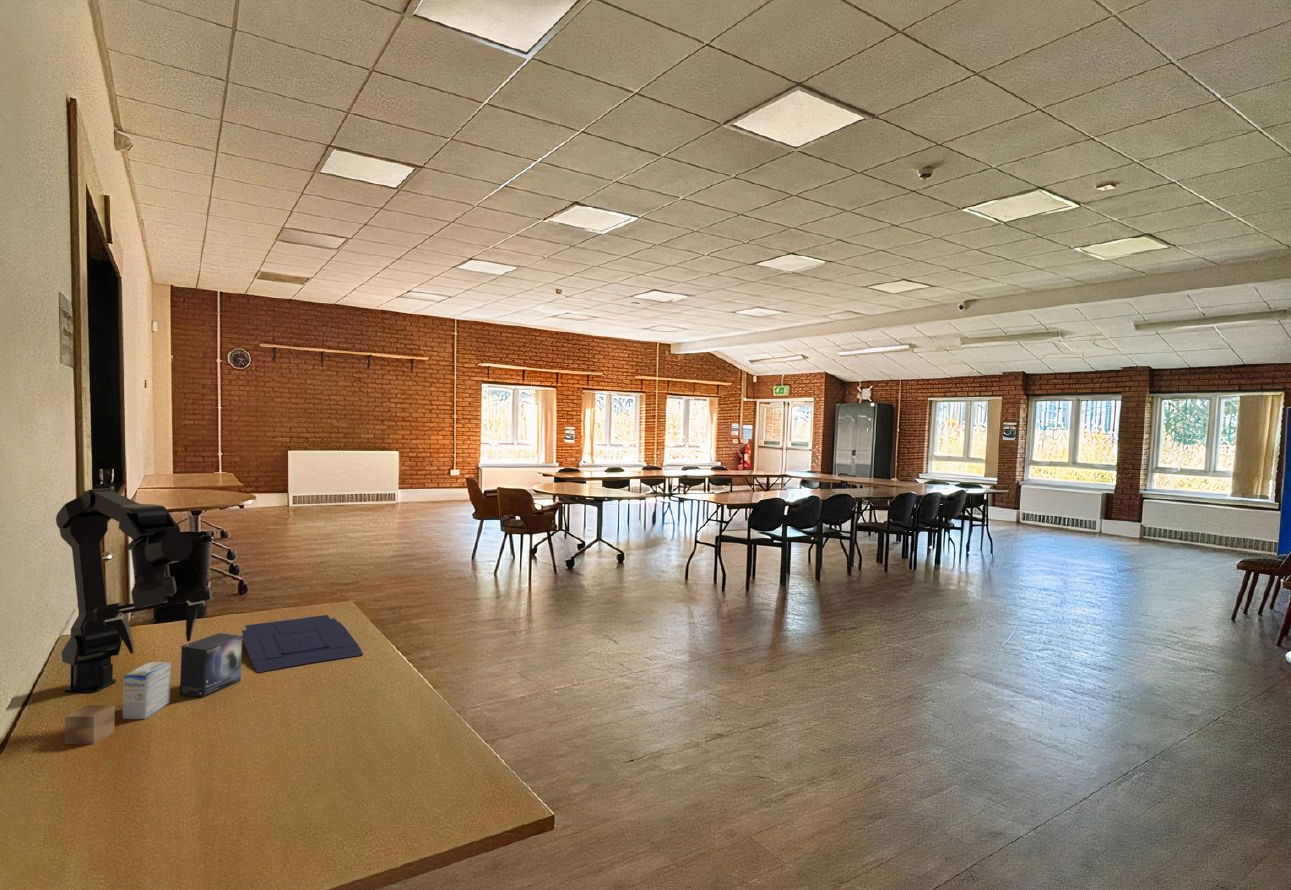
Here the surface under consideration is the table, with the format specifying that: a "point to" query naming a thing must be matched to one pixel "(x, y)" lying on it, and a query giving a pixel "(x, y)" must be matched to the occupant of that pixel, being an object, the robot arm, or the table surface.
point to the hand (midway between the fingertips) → (160, 647)
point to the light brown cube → (89, 724)
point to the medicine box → (146, 690)
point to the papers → (297, 642)
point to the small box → (210, 664)
